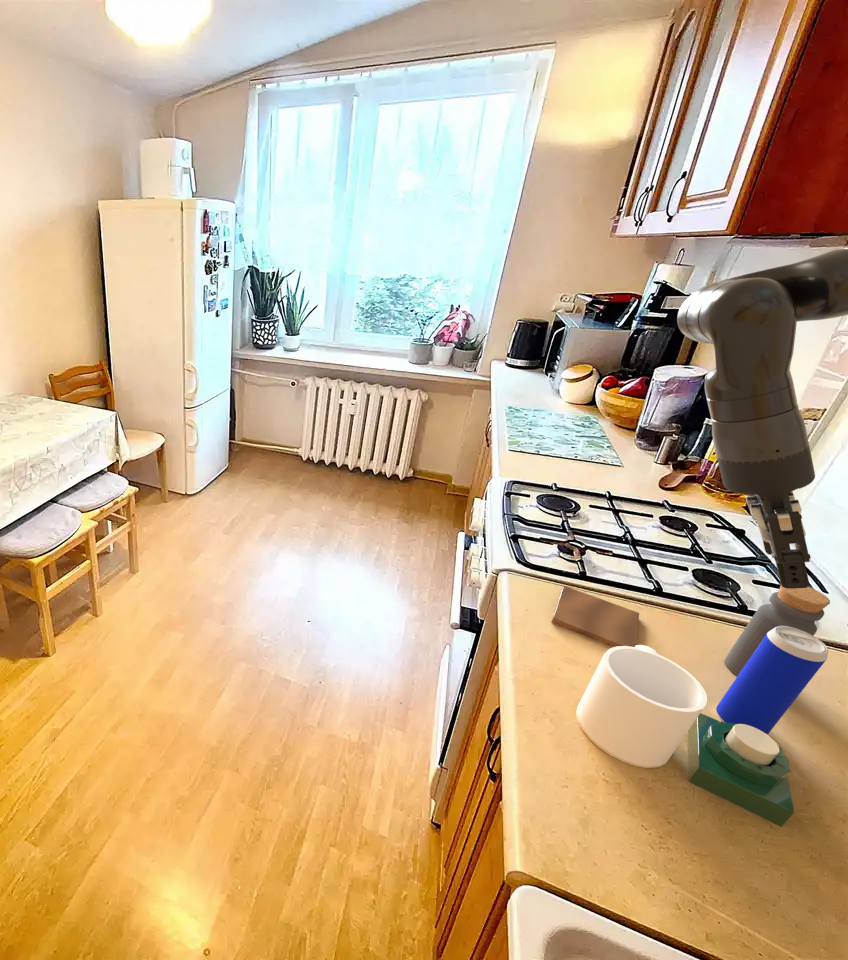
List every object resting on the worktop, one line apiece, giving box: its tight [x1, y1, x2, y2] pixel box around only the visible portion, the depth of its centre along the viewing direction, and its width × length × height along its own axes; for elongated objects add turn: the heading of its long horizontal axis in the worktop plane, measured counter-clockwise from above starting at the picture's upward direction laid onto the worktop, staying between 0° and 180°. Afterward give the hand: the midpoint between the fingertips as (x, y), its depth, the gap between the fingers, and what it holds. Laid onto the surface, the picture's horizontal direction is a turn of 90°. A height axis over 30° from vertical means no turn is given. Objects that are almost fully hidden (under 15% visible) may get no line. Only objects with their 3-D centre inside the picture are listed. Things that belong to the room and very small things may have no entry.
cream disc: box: [725, 724, 780, 766], centre depth 61 cm, size 4×4×2 cm
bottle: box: [724, 584, 831, 677], centre depth 74 cm, size 6×6×15 cm
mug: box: [575, 644, 708, 769], centre depth 66 cm, size 13×10×10 cm
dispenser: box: [687, 712, 795, 827], centre depth 62 cm, size 10×8×4 cm
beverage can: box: [715, 626, 829, 736], centre depth 66 cm, size 5×5×15 cm
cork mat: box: [551, 585, 640, 648], centre depth 86 cm, size 11×11×1 cm
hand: (786, 569), depth 64 cm, fingers open, 8 cm apart
